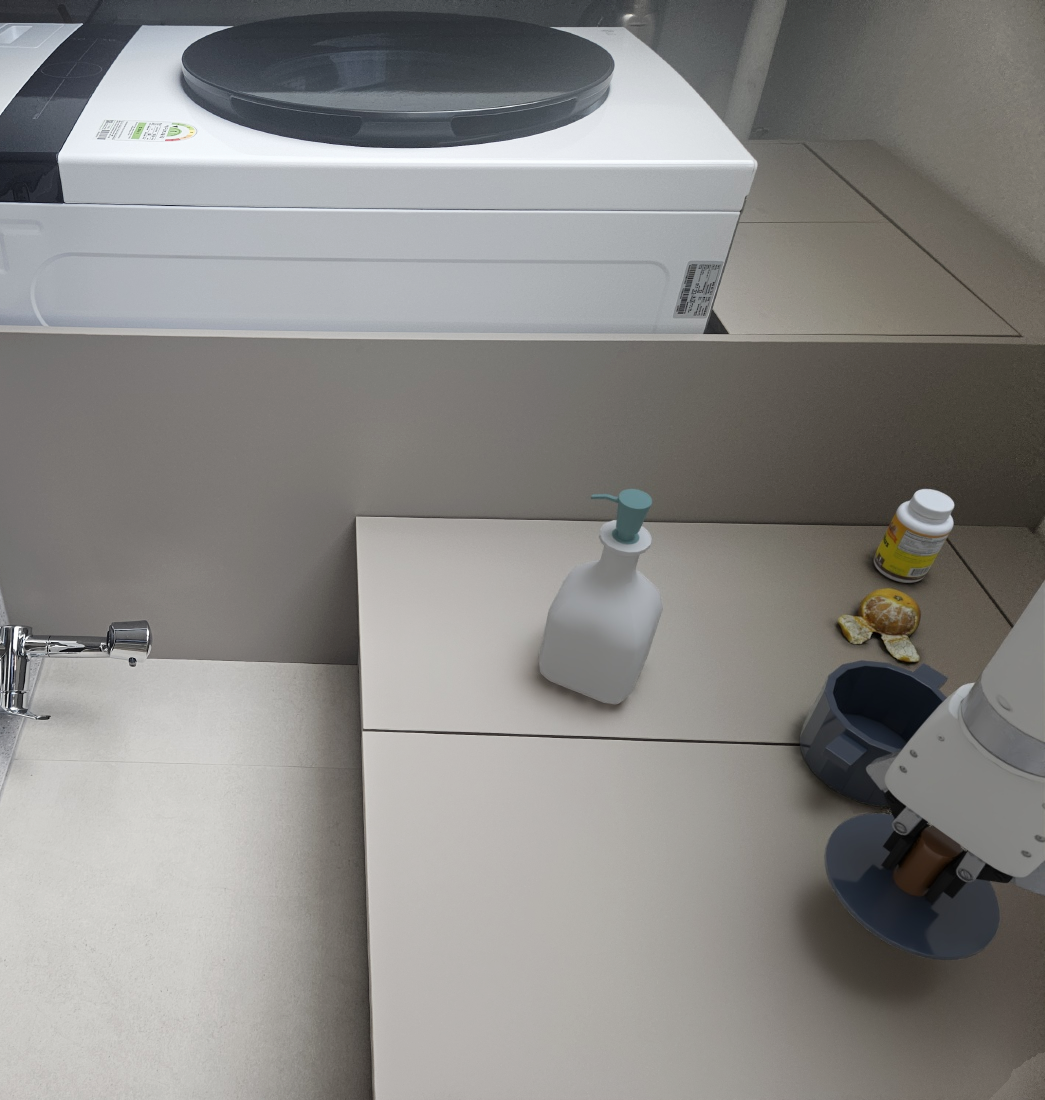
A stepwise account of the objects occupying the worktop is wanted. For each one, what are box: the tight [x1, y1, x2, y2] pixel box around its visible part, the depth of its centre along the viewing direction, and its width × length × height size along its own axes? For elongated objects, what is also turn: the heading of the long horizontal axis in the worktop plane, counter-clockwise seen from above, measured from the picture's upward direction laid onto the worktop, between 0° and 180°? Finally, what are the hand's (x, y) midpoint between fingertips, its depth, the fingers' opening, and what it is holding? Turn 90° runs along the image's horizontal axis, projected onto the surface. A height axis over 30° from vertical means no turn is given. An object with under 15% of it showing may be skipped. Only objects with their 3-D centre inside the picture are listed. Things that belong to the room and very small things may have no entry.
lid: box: [823, 812, 1001, 962], centre depth 72 cm, size 12×12×7 cm
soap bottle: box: [538, 488, 664, 705], centre depth 92 cm, size 10×10×23 cm
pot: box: [799, 659, 949, 807], centre depth 88 cm, size 11×16×8 cm
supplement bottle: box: [873, 488, 955, 584], centre depth 107 cm, size 6×6×10 cm
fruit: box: [837, 587, 922, 663], centre depth 102 cm, size 8×8×4 cm
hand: (916, 873), depth 72 cm, fingers closed on lid, 2 cm apart
